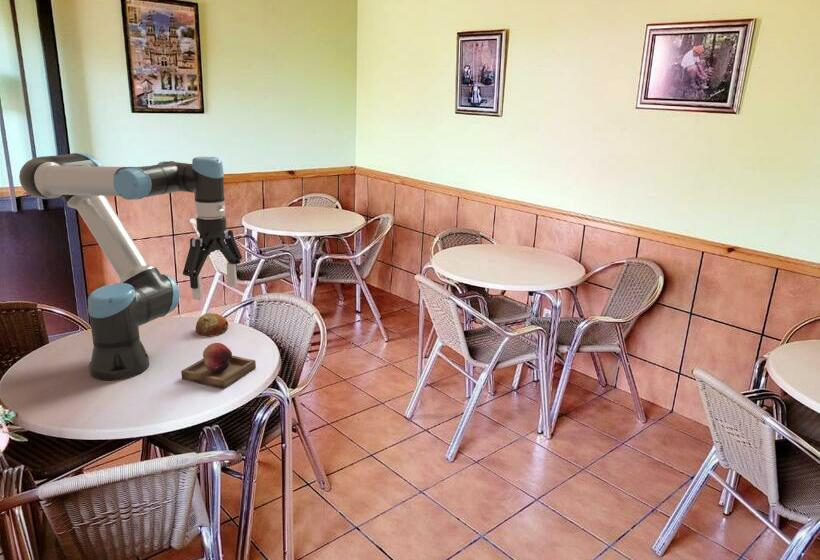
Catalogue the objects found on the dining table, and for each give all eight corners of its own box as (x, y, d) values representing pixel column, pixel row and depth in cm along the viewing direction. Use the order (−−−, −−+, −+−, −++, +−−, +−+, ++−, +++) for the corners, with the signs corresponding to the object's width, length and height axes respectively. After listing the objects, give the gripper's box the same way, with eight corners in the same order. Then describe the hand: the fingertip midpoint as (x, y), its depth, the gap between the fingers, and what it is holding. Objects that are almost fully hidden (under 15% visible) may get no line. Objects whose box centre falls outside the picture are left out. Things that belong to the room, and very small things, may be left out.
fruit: (216, 363, 171) (214, 337, 169) (238, 368, 169) (237, 341, 166) (197, 373, 165) (195, 346, 162) (220, 379, 162) (218, 352, 159)
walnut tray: (181, 379, 163) (181, 370, 163) (215, 359, 176) (215, 351, 175) (224, 389, 158) (223, 380, 158) (255, 368, 171) (255, 360, 170)
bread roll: (202, 336, 202) (190, 317, 198) (230, 321, 203) (218, 302, 200) (202, 347, 193) (189, 327, 189) (231, 332, 194) (219, 312, 191)
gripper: (186, 226, 147) (192, 308, 153) (252, 210, 169) (255, 282, 175) (163, 222, 150) (170, 302, 156) (231, 207, 171) (235, 278, 178)
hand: (215, 292), depth 166 cm, fingers open, 13 cm apart
